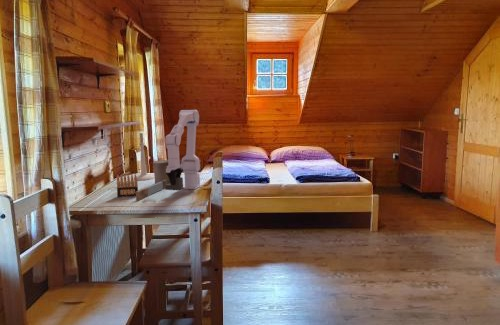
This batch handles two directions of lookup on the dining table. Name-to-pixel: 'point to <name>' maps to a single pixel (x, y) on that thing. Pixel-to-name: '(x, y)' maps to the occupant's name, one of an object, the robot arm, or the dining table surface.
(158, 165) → the pillar candle
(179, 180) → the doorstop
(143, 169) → the candlestick
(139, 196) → the brown wooden bar
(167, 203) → the dining table surface
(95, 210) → the dining table surface
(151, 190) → the door
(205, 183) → the dining table surface
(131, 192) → the ammunition clip
